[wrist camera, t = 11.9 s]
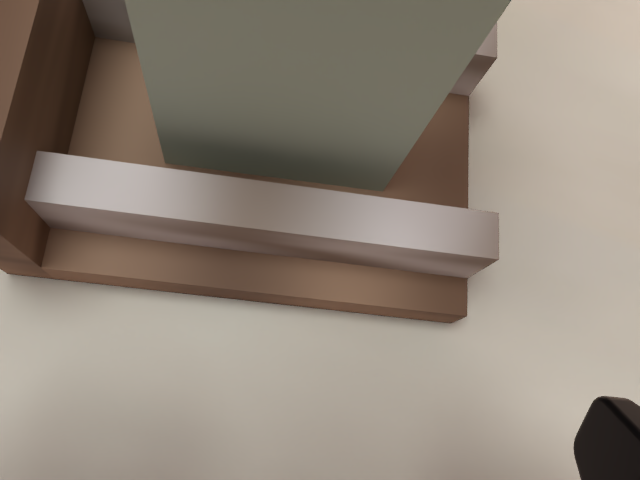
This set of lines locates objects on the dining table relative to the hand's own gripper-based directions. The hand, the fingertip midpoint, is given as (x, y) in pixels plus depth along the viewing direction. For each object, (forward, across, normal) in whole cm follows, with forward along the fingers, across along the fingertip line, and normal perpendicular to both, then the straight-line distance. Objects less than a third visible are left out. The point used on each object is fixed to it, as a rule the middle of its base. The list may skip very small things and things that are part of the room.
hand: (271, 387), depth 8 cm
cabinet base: (+11, 0, +1) cm, 11 cm away
